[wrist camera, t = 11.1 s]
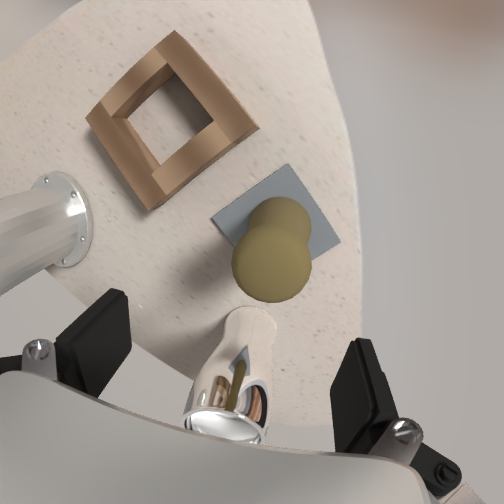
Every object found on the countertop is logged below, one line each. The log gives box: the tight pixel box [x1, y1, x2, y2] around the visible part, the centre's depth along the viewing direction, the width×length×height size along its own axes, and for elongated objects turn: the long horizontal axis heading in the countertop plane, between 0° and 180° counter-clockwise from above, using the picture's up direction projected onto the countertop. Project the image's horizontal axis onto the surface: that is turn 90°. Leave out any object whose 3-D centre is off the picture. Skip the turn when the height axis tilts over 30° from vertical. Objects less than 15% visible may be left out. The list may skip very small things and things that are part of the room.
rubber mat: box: [212, 163, 341, 261], centre depth 28 cm, size 9×9×1 cm
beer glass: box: [180, 306, 278, 445], centre depth 25 cm, size 7×7×15 cm
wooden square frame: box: [85, 30, 259, 211], centre depth 25 cm, size 13×13×3 cm
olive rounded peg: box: [232, 196, 312, 303], centre depth 23 cm, size 6×6×11 cm
